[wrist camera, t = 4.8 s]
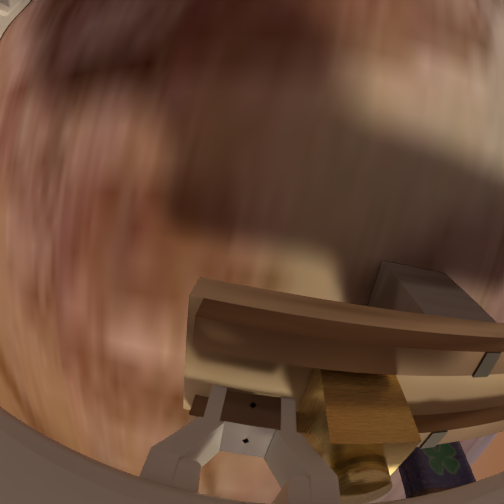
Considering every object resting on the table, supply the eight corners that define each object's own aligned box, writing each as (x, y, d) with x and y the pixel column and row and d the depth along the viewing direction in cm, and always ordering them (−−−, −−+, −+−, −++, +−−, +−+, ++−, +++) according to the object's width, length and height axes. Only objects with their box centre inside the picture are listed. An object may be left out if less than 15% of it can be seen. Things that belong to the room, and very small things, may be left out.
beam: (227, 230, 18) (159, 347, 7) (522, 289, 17) (601, 362, 7) (215, 319, 20) (165, 460, 9) (493, 351, 19) (552, 434, 9)
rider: (318, 355, 10) (333, 473, 6) (390, 362, 10) (430, 465, 6) (297, 407, 11) (299, 512, 7) (362, 412, 11) (382, 507, 7)
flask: (456, 422, 22) (487, 498, 12) (438, 439, 23) (464, 514, 13) (397, 414, 22) (425, 512, 12) (378, 433, 23) (398, 527, 13)
